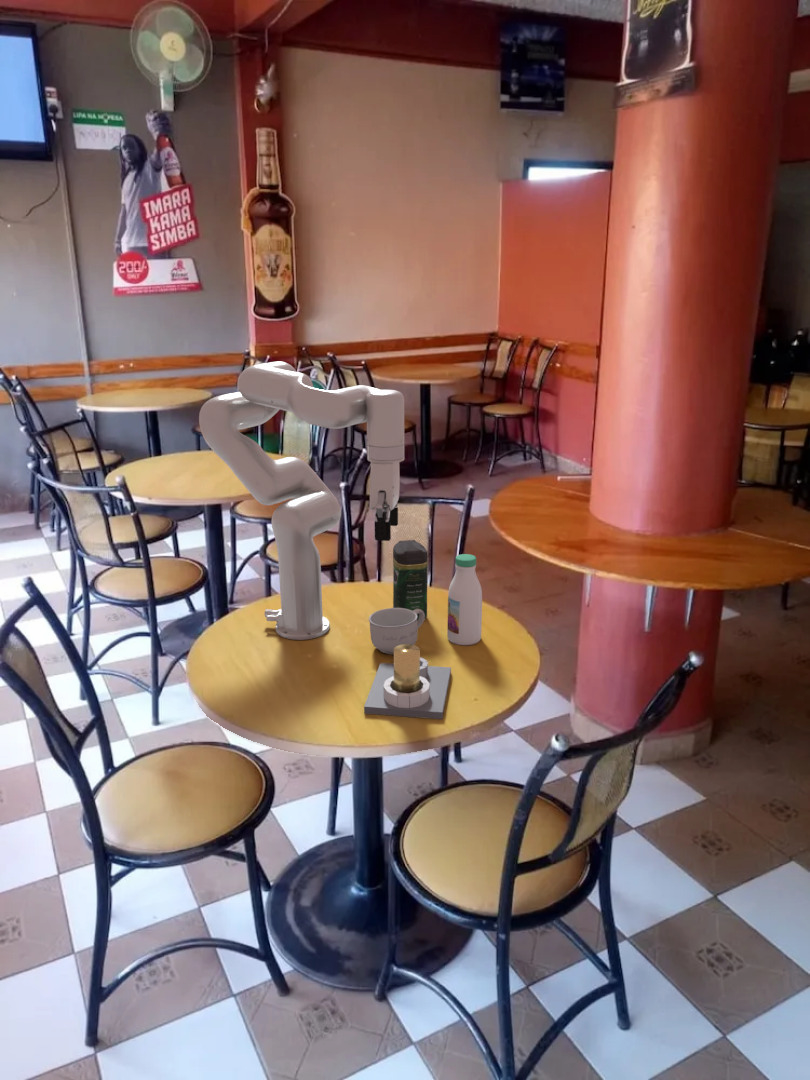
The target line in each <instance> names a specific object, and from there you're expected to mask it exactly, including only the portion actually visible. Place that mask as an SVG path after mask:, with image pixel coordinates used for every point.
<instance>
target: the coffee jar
mask: <svg viewBox="0 0 810 1080" xmlns="http://www.w3.org/2000/svg"><path fill="white" fill-rule="evenodd" d="M428 557H429V556H428V550H427V548H426V547H425V546H424V545H423V543H422V544H421V543H420V542H418V541H416V540H415V539H408V540H407V539H405V540H399V541H398V542H397V543H395V544H394V545H393V548H392V564H393V567H392V569H393V571H392V572H393V578H392V579H393V581H392V583H393V585H392V586H393V591H392V593H393V595H392V596H393V597H392V604H393V606H392V608H404V609H409V610H411V611H413V610H415V609H421V610H422V611H423V612H424V614H425V619H424V620H426V618H427V617H428V563H429V561H428ZM418 619H419V613H418V614H417V621H418Z"/></svg>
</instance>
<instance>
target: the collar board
mask: <svg viewBox="0 0 810 1080" xmlns="http://www.w3.org/2000/svg"><path fill="white" fill-rule="evenodd" d="M451 675H452V667H450V666H435V665H432V666H431V665H429V662H428V660H427V659H425V658H424V657H421V656H420V676H419V691H417V692H413V693H399V692H397V691H394V663H391V662H389V663H388V662H380V663H379V666H378V669H377V670H376V673H375V676H374V679H373V682H372V685H371V687H370V690H369V693H368V695H367V698H366V701H365V703H364V705H363V708H364V709H363V710H364V711H363V713H364V714H365V715H379V716H380V715H382V716H393V717H408V718H419V719H421V718H422V719H433V720H443V718H444V717H443V716H444V711H445V706H446V701H447V696H448V691H449V686H450V680H451Z"/></svg>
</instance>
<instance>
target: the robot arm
mask: <svg viewBox="0 0 810 1080" xmlns="http://www.w3.org/2000/svg"><path fill="white" fill-rule="evenodd" d="M237 388H238V391H236V392H230V393H229V392H228V393H226V394H225V393H224V394H221V395H217V396H214V397H212V398H210V399H208V400H207V401H205V403H203V405H202V406H201V407H200V411H199V416H198V421H199V422H198V423H199V428H200V432H201V435H202V437H203V439H204V441H205V443H206V444H207V445H208V447H209V448H210V450H212V451H213V452H214V454H215V455H216V456H218V457H219V459H221V460H222V461H223V462H224V464H226V465H227V466H228V468H229V469H230V470H231V471H232V473H233V474H234V475H235V476H236V477H237V479H238V481H240V482H241V484H242V485H243V486H244V488H246V489H247V491H248V492H249V493H250V494H251V496H252V497H253V498H254V499H255V500H256V501H257V502H258V503H259V504H260V505H264V506H272V505H276V504H279V503H281V504H280V505H278V506H277V508H276V509H275V510H274V511H273V513H272V516H271V528H272V532H273V536H274V539H275V544H276V549H277V558H278V559H277V560H278V561H277V563H278V576H279V592H280V607H281V608H278V610H277V609H270V608H269V609H267V608H266V609H265V610H264V617H265V618H266V621H267V622H276V624H275V632H276V633H277V635H279V636H280V637H282V638H284V639H289V640H296V641H304V640H311V639H316V638H318V637H321V636H323V635H325V634H326V633H328V631H329V630H330V621H329V620H328V618H327V617H325V616H323V615H324V613H323V596H322V595H323V594H322V568H321V566H322V565H321V557H320V556H321V555H320V552H319V549H318V548H317V546H316V544H315V541H314V537H316V536H318V535H320V534H322V533H325V532H326V531H328V530H330V529H333V528H334V527H335V526H336V525H337V524H339V521H340V519H341V516H342V515H341V514H342V511H341V506H340V503H339V501H338V499H337V498H336V496H335V495H334V494H333V492H332V491H331V490H330V489H329V487H328V486H327V485H326V484H325V483H324V481H323V480H322V479H321V478H320V477H319V475H318V474H317V473H316V472H315V470H313V468H312V467H311V466H310V465H309V464H308V463H307V462H305V461H304V460H303V459H302V458H299V457H295V456H286V457H281V458H278V459H273V458H271V457H270V456H269V455H268V454H267V453H266V452H265V450H264V449H263V448H262V446H261V445H260V444H258V442H256V441H255V440H253V439H252V438H250V437H249V436H247V435H244V434H243V433H241V432H240V430H246V429H248V428H254V427H257V426H260V425H263V424H264V423H267V422H268V421H269V420H270V419H272V417H274V416H275V415H276V414H277V413H278V412H279V411H284V412H289V413H293V415H294V416H295V417H296V418H297V419H298V420H300V421H301V422H303V423H305V424H309V425H312V426H317V427H321V428H326V429H333V430H334V429H335V430H337V429H344V428H348V427H352V426H354V425H359V424H364V423H366V443H367V444H366V448H367V449H366V451H367V456H366V457H367V458H366V460H367V461H368V462H370V463H371V464H370V474H369V509H370V510H371V511H373V510H375V512H374V513H375V515H374V540H375V541H381V542H383V541H384V542H390V541H391V536H392V535H391V534H392V533H391V532H392V531H391V530H392V529H391V528H392V527H397V526H398V525H399V507H398V501H399V499H400V487H401V483H400V480H401V478H400V463H401V462H403V461H405V397H404V394H403V392H401V391H400V390H395V389H381V388H380V389H379V388H376V387H372V386H370V385H364V384H361V385H359V384H358V385H354V386H349V387H344V388H340V389H339V388H338V389H335V390H325V389H319V388H316V387H314V383H313V381H312V379H311V378H310V377H309V375H307V374H306V373H302V372H300V371H299V372H297V370H296V369H295V368H294V367H293V366H292V365H291V364H289V363H287V362H285V361H279V360H278V361H271V362H265V363H260V364H259V363H258V364H254V365H250V366H247V368H245V369H244V370H243V371H242V372H241V373H240V374H239V377H238V380H237Z"/></svg>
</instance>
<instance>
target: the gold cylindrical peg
mask: <svg viewBox="0 0 810 1080" xmlns="http://www.w3.org/2000/svg"><path fill="white" fill-rule="evenodd" d="M420 658H421V650H420V647H419V646H417V645H416V644H414V645H411V644H402V645H398V646H396V647H395V648H394V654H393V664H394V691H397V692H399V693H413V692H417V691H419V676H420Z"/></svg>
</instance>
